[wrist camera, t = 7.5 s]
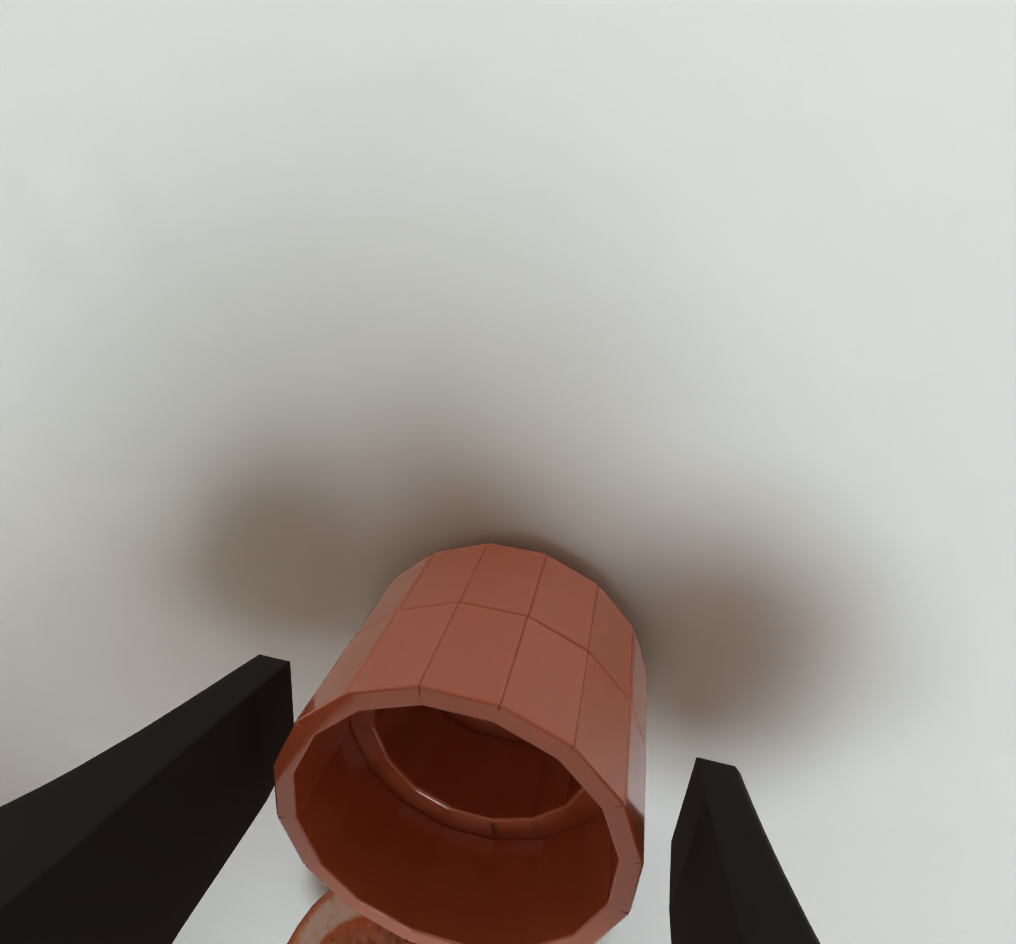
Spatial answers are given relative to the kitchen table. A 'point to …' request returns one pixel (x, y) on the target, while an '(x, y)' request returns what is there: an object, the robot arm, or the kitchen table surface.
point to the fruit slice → (340, 926)
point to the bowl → (477, 756)
